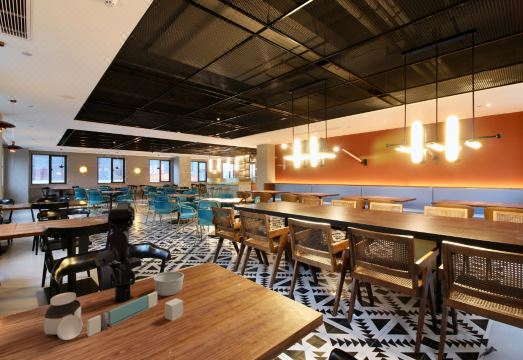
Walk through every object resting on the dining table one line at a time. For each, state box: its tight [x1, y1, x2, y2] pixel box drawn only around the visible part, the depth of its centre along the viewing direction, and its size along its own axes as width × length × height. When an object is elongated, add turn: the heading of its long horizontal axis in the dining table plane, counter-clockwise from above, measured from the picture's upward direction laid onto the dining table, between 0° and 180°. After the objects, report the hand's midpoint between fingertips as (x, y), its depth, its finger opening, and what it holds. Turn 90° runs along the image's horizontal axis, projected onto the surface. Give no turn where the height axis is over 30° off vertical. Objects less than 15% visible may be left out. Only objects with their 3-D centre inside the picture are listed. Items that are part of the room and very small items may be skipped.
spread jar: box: [43, 291, 83, 341], centre depth 87 cm, size 12×11×12 cm
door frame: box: [86, 290, 158, 337], centre depth 96 cm, size 2×26×5 cm, turn 149°
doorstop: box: [164, 297, 184, 322], centre depth 98 cm, size 4×5×6 cm
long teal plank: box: [108, 295, 148, 324], centre depth 97 cm, size 14×1×4 cm, turn 149°
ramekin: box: [152, 270, 185, 297], centre depth 120 cm, size 13×13×7 cm
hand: (119, 282), depth 99 cm, fingers open, 3 cm apart
